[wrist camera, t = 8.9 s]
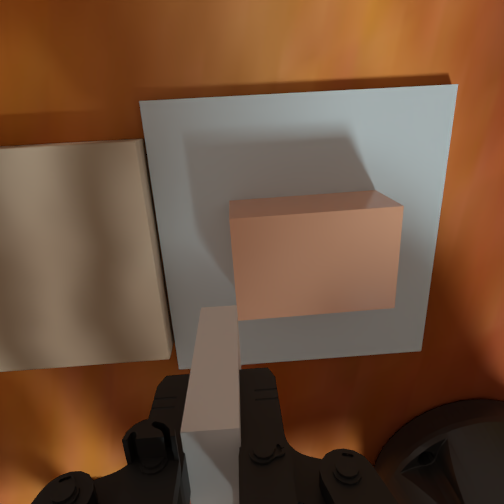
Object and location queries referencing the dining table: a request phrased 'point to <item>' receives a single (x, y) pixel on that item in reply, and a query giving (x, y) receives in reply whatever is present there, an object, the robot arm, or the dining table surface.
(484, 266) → the dining table surface
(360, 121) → the mat
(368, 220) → the pink block
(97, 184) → the beige flat rectangular piece
